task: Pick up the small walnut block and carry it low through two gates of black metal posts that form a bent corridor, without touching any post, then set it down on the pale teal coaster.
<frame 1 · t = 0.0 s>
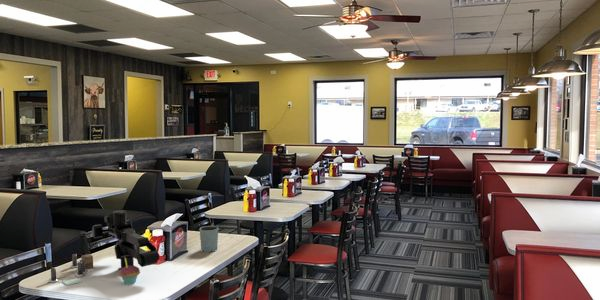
hand: (106, 226, 239), 17 cm above the table, tool horizontal, fingers open, 9 cm apart
walnut block: (87, 268, 224), on the table
grey plant pot: (209, 250, 252), on the table
post course: (127, 269, 221), on the table
coaster: (72, 282, 205), on the table
cupcake: (130, 282, 204), on the table
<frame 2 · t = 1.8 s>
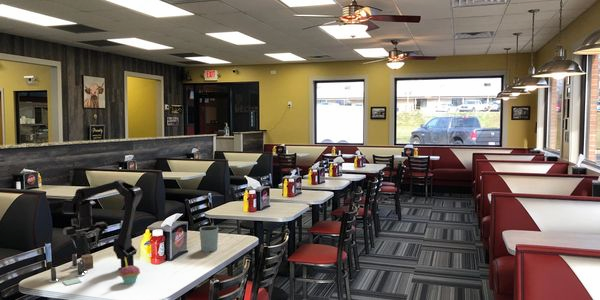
hand: (86, 246, 224), 11 cm above the table, tool pointing down, fingers open, 9 cm apart
nothing on the table moved.
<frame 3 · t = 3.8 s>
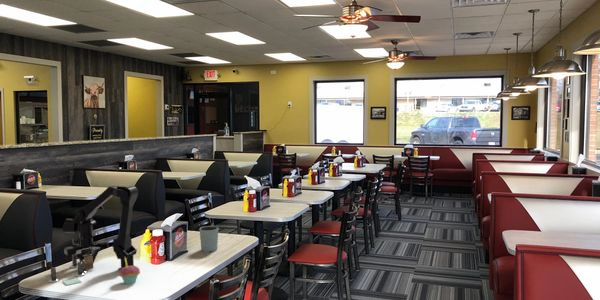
hand: (87, 265, 224), 1 cm above the table, tool pointing down, fingers closed on walnut block, 4 cm apart
walnut block: (87, 267, 224), on the table, touching gripper
everything else where it was.
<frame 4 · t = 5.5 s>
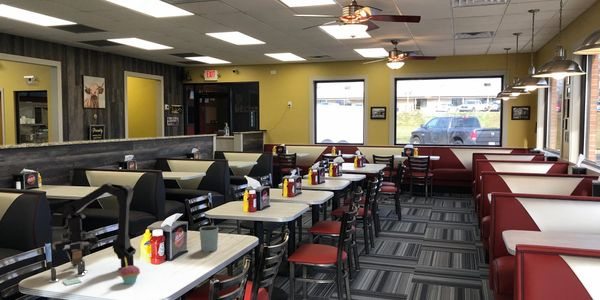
hand: (76, 260, 221), 5 cm above the table, tool pointing down, fingers closed on walnut block, 4 cm apart
walnut block: (76, 263, 221), point 3 cm above the table, touching gripper
everything else where it was.
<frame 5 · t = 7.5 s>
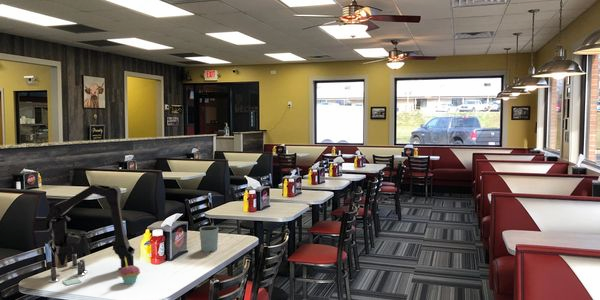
hand: (61, 264, 216), 4 cm above the table, tool pointing down, fingers closed on walnut block, 4 cm apart
walnut block: (61, 266, 216), point 3 cm above the table, touching gripper
everything else where it was.
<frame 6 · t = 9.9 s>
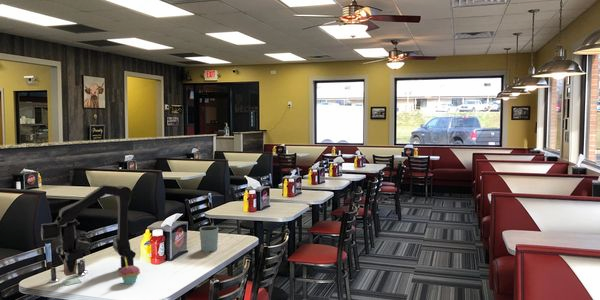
hand: (70, 271, 206), 4 cm above the table, tool pointing down, fingers closed on walnut block, 4 cm apart
walnut block: (70, 273, 206), point 3 cm above the table, touching gripper
everything else where it was.
when the fingers open (2 cm above the table, at t = 11.6 s): walnut block stays where it is, resting on coaster.
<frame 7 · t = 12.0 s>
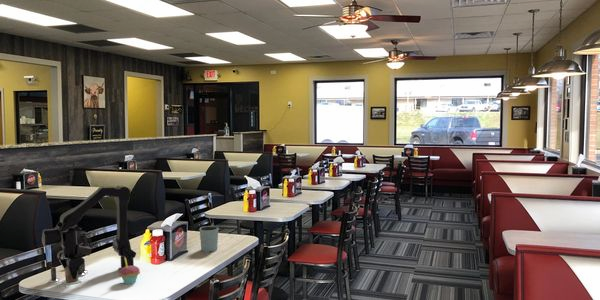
hand: (71, 276, 205), 2 cm above the table, tool pointing down, fingers open, 8 cm apart
walnut block: (71, 280, 205), resting on coaster
everything else where it was.
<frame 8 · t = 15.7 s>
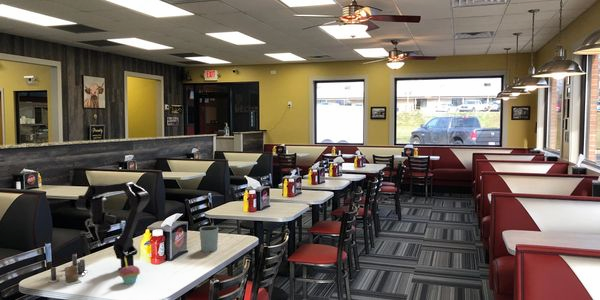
hand: (98, 242, 225), 12 cm above the table, tool pointing down, fingers open, 9 cm apart
nothing on the table moved.
at the end: walnut block inside the target area on the coaster (0.5 cm from its centre), point 0.4 cm above the coaster's base; walnut block tilted 0°; the gripper is holding nothing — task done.
